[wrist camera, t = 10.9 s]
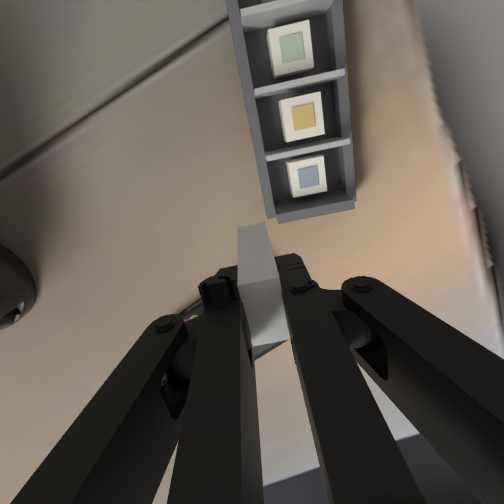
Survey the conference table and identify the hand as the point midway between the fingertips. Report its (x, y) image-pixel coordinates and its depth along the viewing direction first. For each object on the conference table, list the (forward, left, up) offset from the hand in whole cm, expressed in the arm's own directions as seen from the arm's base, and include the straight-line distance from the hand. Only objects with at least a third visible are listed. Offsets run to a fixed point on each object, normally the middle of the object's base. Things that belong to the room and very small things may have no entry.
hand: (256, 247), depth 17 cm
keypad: (+7, +9, -27) cm, 29 cm away
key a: (+7, +13, -26) cm, 29 cm away
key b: (+7, -1, -26) cm, 26 cm away
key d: (+7, +6, -24) cm, 25 cm away
